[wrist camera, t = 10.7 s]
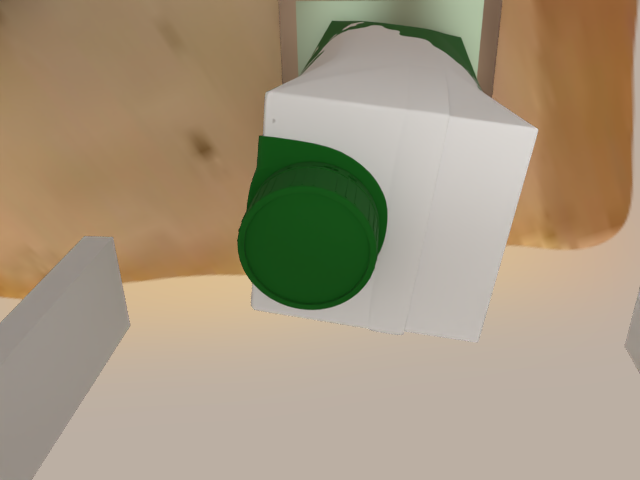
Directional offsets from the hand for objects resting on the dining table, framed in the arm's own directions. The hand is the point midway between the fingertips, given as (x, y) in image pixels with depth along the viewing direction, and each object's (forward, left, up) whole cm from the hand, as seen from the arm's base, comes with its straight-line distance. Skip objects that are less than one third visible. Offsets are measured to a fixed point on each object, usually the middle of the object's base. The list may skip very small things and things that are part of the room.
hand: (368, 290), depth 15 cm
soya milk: (0, 0, -22) cm, 22 cm away
